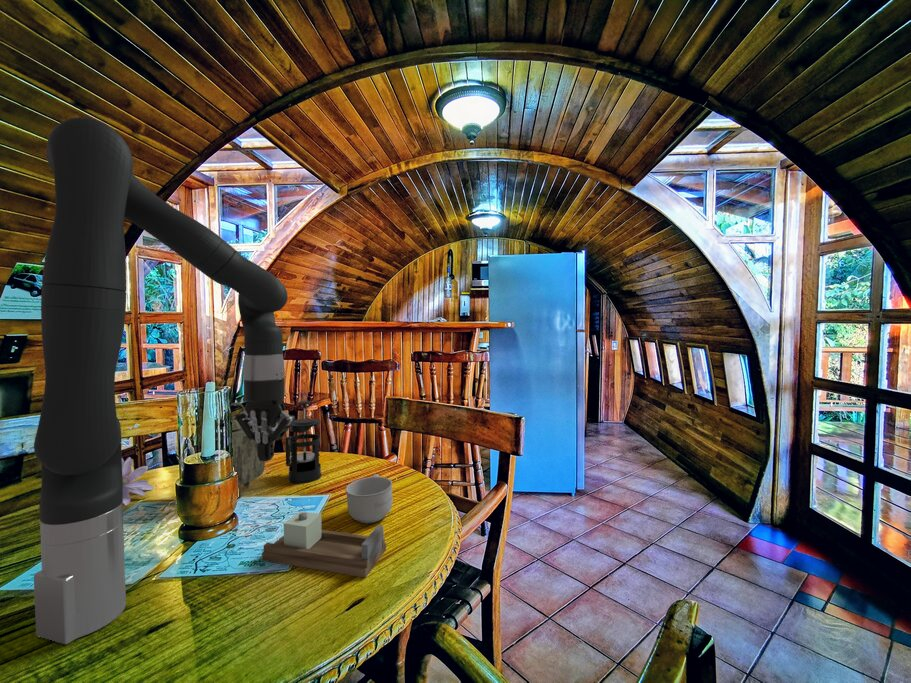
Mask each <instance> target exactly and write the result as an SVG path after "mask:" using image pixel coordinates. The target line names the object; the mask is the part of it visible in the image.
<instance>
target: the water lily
mask: <svg viewBox="0 0 911 683" xmlns="http://www.w3.org/2000/svg"><path fill="white" fill-rule="evenodd" d="M132 466H133V459H132V457H130V456H129V457H127V458H126V459H125V460H124V458H123V457H122V478H123V505H124V506H127V505H129V504H130V503H131V495H130V493H132V494H134V495H138V496H142V497H143V496H144V497H145V496H146V493H145V491H153V490H155V487H154V486H152V485H151V484H150V483H149V481H148V480H145V479H138V478H140V477H141V476H143V475H144V474H145V473H147V471H148V470H149V469H148V468H149V466H147V465H142V466H140V467H138V468H136V469H134V470H133V471H131V470H132ZM137 479H138V480H137Z"/></svg>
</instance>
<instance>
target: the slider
mask: <svg viewBox="0 0 911 683" xmlns="http://www.w3.org/2000/svg"><path fill="white" fill-rule="evenodd" d="M321 530H322V514H321V513H315V512H310V511H309V512H307V511H302V510H300V511H299V512H297V513H296V514H294V515H293V516H292V517H291V518H289V519H287V520H286V521H285V522H284V523H283V536H284V545H286V546H293V547H299V548H305V549H310V548H311V547H312V546H313V545H314V544H315V543H316V542H317V541H319V540H320V539H321V538H322V535H321Z"/></svg>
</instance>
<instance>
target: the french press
mask: <svg viewBox="0 0 911 683" xmlns="http://www.w3.org/2000/svg"><path fill="white" fill-rule="evenodd" d="M296 404H297V405H299V406H300V405H301V406H302V409H303V418H299V419H295V421H294V422H293V423H292V425H291V426H290V428H289V431H290V432H292V433H297V434H298V435H297V434H296V435H293V436H292V435H290V436H286V437H285V466H286V467H288V477H287V481H288V482H289V483H292V484H298V485H299V484H308V483H312V482H315V481H317V480H319V479H320V478H321V477H322V472H321V471H322V470H321V468H322V467H321V466H322V465H321V463H320V455H321V454H320V447H319V446H320V443H321V435H319V434H316V433H306V432H308V431H309V430H311V428H312V427H317V428H319V426H320V423H321V420H320V418H319V419H318V418H306V409H307V405H310V404H312V401H310V400H302V401H298V402H296ZM299 433H301V434H299ZM302 433H303V434H302ZM306 439H311V440H310V441H306ZM298 440H303V441H300V442H299V441H298ZM297 441H298V442H297ZM306 447H311V451H306ZM298 448H303V452H298Z"/></svg>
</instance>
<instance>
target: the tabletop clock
mask: <svg viewBox="0 0 911 683" xmlns="http://www.w3.org/2000/svg"><path fill="white" fill-rule="evenodd" d="M232 406H238V407H241V408H242V410H241V412H240V413H239V414H241V413H242V412H244V411H245V406H244V405H243V404H242V403H239V402H231V406H230V407H232ZM230 414H231V422H232V448H233V467H234V471H235V472H237V475H238V486H239V487H240V486H242V485H243V486H244V487H245V488H247V487H249V486H250V482H251V481H254V480H255V479H257V478H259V477H261V476H262V475H263V474H264V472H265V471H264V470H265V467H266V462H265V461H259V458H258V456H257V453H258V452H257V443H256V441H255V440H253V439H251V440H250V439H249V438H248V437H247V435H246V434H245V432H244V431H243V429H242V428H241V426H240V425H239V423H238V422H237V420H236V418H235V417H236V415H235V414H234V413H230ZM251 431H252V430H251ZM252 432H253V431H252ZM261 433H262V432H261ZM242 496H243V492H241V491H239V498H238V499H240V498H242Z"/></svg>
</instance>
